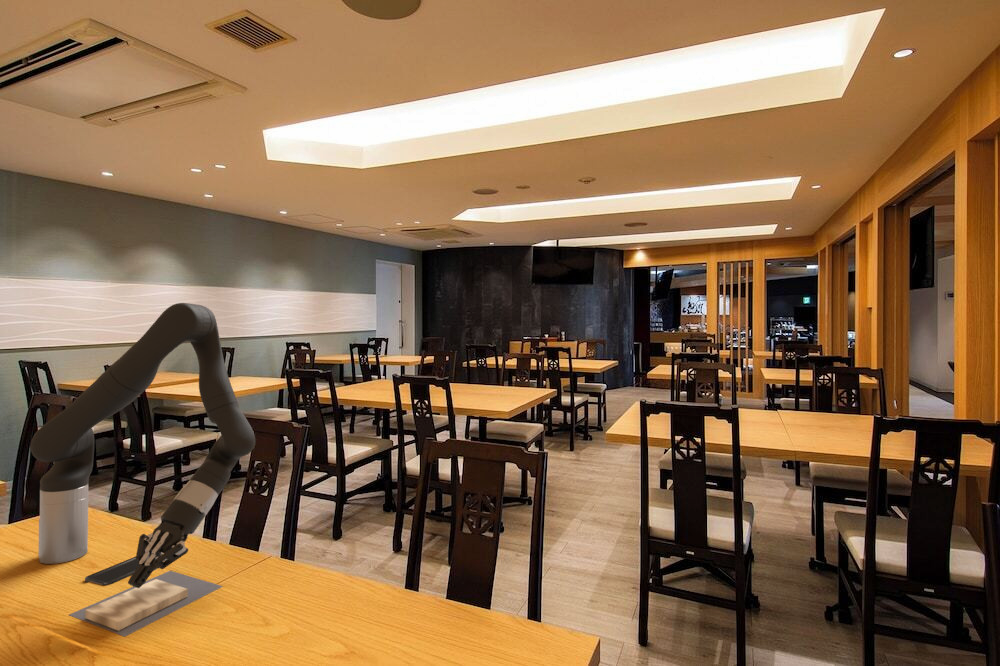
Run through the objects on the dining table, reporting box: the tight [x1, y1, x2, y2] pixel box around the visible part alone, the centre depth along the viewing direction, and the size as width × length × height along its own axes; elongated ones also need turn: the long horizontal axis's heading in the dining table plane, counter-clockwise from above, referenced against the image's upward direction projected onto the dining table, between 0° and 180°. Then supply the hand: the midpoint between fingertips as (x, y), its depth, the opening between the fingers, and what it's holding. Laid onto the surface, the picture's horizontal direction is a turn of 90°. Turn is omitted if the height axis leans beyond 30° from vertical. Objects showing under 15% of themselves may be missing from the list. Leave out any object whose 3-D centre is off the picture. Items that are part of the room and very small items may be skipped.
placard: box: [85, 579, 188, 631], centre depth 109 cm, size 10×2×14 cm
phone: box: [84, 554, 166, 587], centre depth 125 cm, size 8×1×15 cm
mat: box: [68, 570, 224, 637], centre depth 112 cm, size 17×21×1 cm
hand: (133, 585), depth 108 cm, fingers closed
